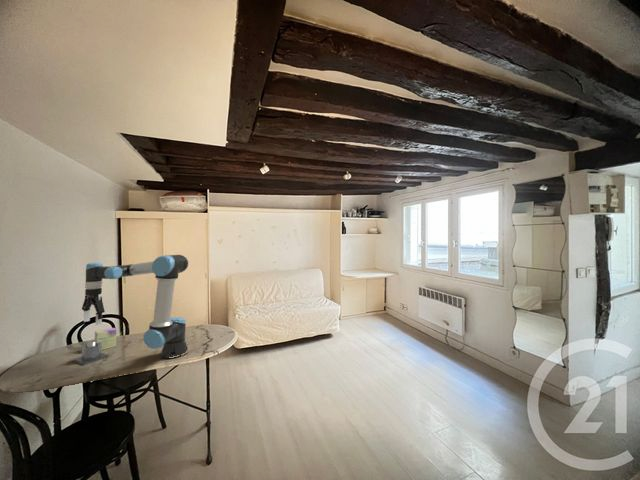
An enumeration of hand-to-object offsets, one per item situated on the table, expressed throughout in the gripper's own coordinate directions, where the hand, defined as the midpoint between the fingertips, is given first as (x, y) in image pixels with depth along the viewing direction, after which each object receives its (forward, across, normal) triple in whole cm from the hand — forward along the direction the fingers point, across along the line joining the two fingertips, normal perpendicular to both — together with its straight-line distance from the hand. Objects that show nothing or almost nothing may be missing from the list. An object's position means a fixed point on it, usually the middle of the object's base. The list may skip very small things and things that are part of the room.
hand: (92, 322), depth 153 cm
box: (+22, +12, -13) cm, 28 cm away
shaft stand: (+22, 0, 0) cm, 22 cm away
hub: (+21, 0, 0) cm, 21 cm away
